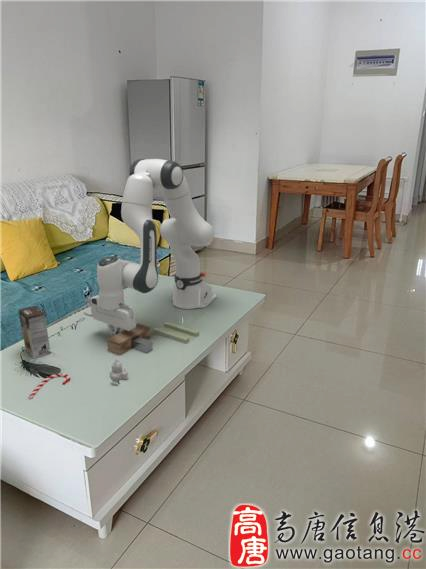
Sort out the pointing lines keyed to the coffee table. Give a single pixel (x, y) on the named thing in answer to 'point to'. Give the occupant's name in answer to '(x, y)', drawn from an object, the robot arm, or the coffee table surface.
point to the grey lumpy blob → (118, 372)
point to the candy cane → (48, 380)
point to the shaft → (140, 344)
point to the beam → (127, 339)
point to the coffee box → (34, 331)
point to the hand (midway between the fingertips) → (114, 334)
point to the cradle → (176, 332)
